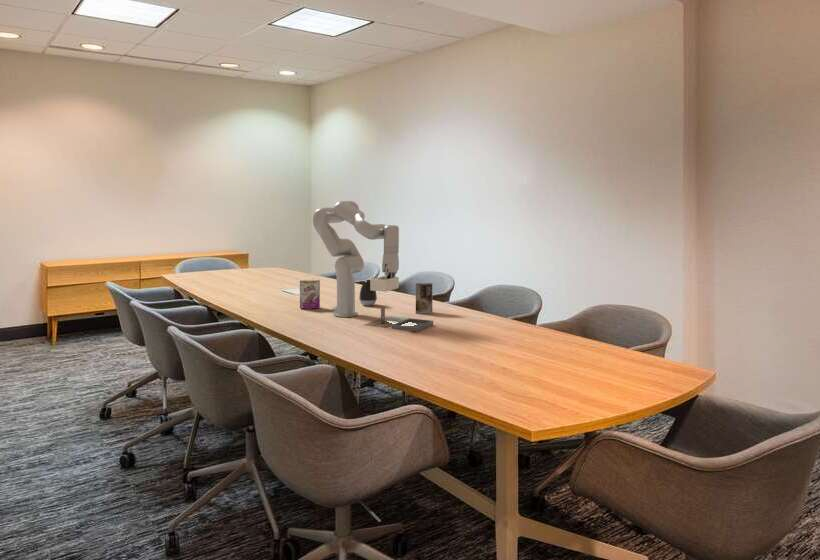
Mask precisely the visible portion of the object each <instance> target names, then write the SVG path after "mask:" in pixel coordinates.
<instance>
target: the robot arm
mask: <svg viewBox="0 0 820 560" xmlns="http://www.w3.org/2000/svg"><path fill="white" fill-rule="evenodd" d="M365 216H366V215H365V213H364V212H363V211H362V210H360V207H359V204H358V203H356V202H355V201H353V200H342V201H341V200H340V201H338V202H337V203H335V204H334V206H333V207H321V208H317V209H316V210H315V212H314V214H313V216H312V223H313V227H314V229H315V231H316V232H317V234H318V235H319V237H320V239H321V240H322V243H323V244H324V245H325V248H326V249H327V251H328V253H329V254H330V255H331V257H333V258H337V259H336V261H335V264H334V271H335V274H336V306H332V307H331V311H335V312H333V316H335V317H336V318H337V317H339V318H352V317H357V316H358V315H359V313H358V311H356V291H355V289H356V287H355V286H356V285H355V284H356V283H355V278H354V276H353V275H354V274H357V273H360V272H361V271H362V270H363V269H364V267H365V263H364V259H363V257H362V255H361V253H360V251H359V250H358V248H357V246H356V245H355V243H354V241H352V240H351V239H349V238H340V237H339V235H338V233H337V231H336V230H335V228H334V227H332V226H331V225H330V224H337V223H342V222H345V221H346V222H348V224H350V225H351V226H353V227H354V229H355V231H356V232H357V233H358V234H359V235H360V236H363V237H364V238H366V239H368V240H372V241H373V240H383V255H382V262H381V264H382V265H381V271H382V273H384V276H386V278H387V279H391V278H392V277H396V275H397V274H398V271H399V268H400V266H399V265H400V261H399V258H400V257H399V253H400V252H399V246H400V228H399V227H400V226H398V225H394V224H393V225H391V224H389V225H388V224H384V223H381V224H380V223H379V224H378V223H377V224H373V223H372V224H371V223H369V222H368V221H367V220H365V218H366V217H365Z"/></svg>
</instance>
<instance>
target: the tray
mask: <svg viewBox="0 0 820 560" xmlns="http://www.w3.org/2000/svg"><path fill="white" fill-rule="evenodd" d="M400 321H401V322H398V323H396V324H393V325H391V326H390V327H391V330H392V329H394V330H401V331H409V332H410V333H419V332H421V331H423V330H426V329H428V328H429V326H430V327H432V326H434V320H431V319H419V318H412V317H411V318H409V317H408V318H407V319H404V320H400ZM408 322H412V323H416V324H417V325H414V326H401V325H402V324H405V323H408ZM431 325H432V326H431ZM427 327H428V328H427ZM425 328H426V329H425Z"/></svg>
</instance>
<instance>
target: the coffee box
mask: <svg viewBox="0 0 820 560" xmlns="http://www.w3.org/2000/svg"><path fill="white" fill-rule="evenodd" d="M415 314H417V315H418V314H420V315H421V314H424V315H428V314H429V315H430V314H431V315H432V314H433V283H430V282H424V283H423V282H420V283H419V282H417V283H416V284H415Z"/></svg>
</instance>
